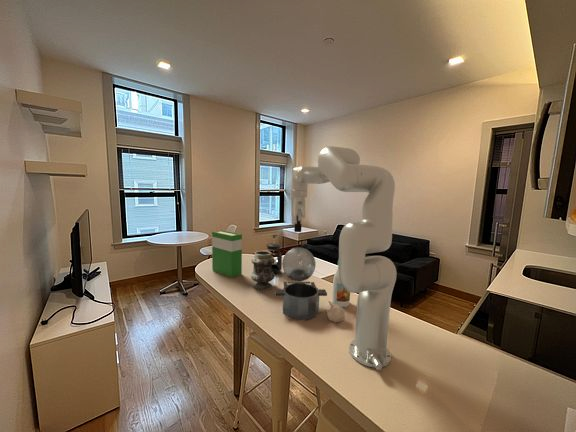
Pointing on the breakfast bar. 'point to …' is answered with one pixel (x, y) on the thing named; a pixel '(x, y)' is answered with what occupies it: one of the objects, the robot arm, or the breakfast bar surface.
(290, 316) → the cooker pot
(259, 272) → the grey rounded vessel
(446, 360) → the breakfast bar surface
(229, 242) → the green tissue carton
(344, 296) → the milk bottle
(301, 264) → the cooker lid
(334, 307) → the garlic bulb
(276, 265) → the french press
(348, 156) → the robot arm
